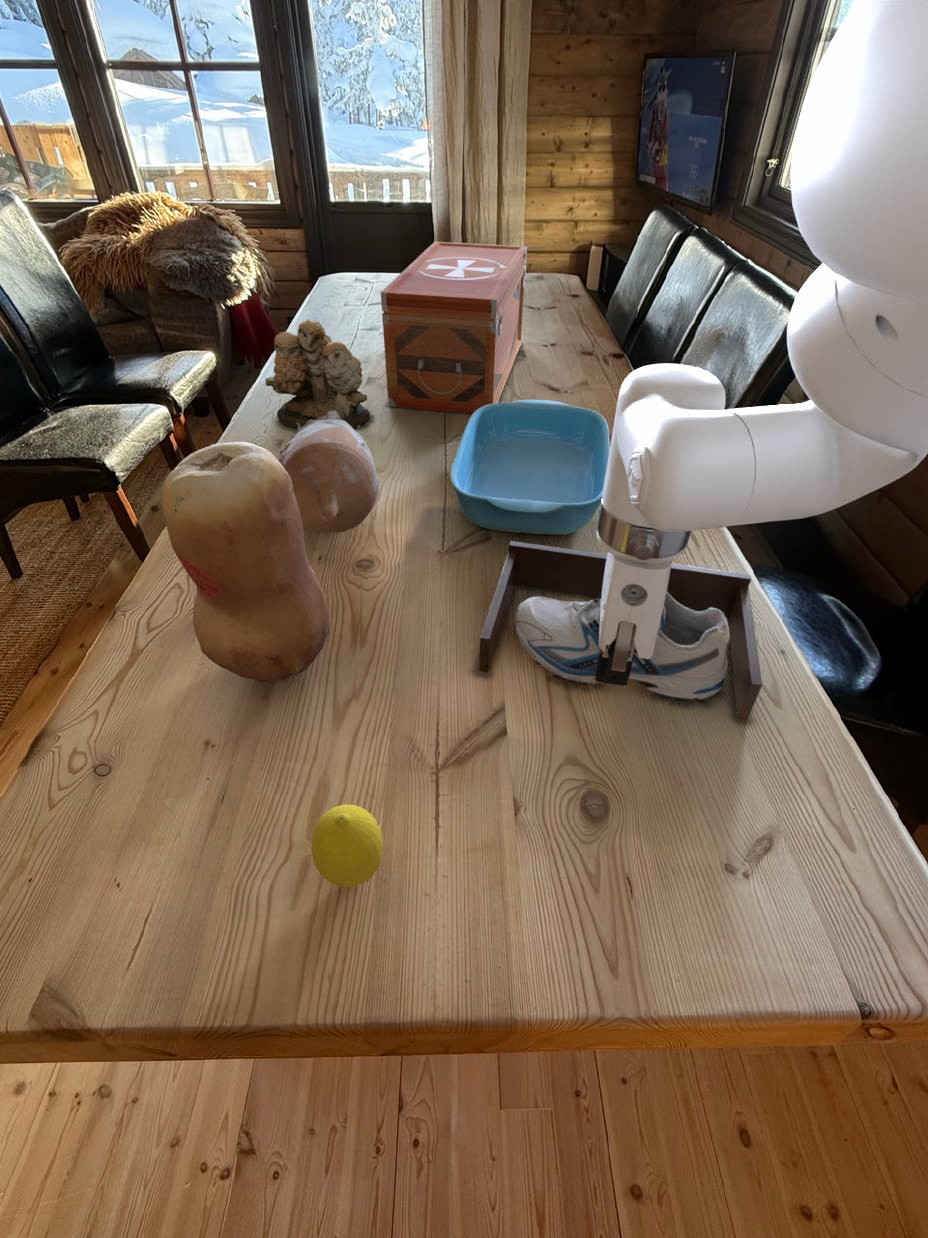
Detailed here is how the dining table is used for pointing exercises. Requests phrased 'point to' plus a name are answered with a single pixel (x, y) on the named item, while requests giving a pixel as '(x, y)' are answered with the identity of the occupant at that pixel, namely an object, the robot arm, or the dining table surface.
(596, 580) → the shoe rack
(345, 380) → the owl figurine
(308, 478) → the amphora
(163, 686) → the dining table surface
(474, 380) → the wooden box
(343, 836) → the lemon
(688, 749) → the dining table surface
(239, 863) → the dining table surface
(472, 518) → the casserole dish
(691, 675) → the athletic shoe
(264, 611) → the butternut squash
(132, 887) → the dining table surface
